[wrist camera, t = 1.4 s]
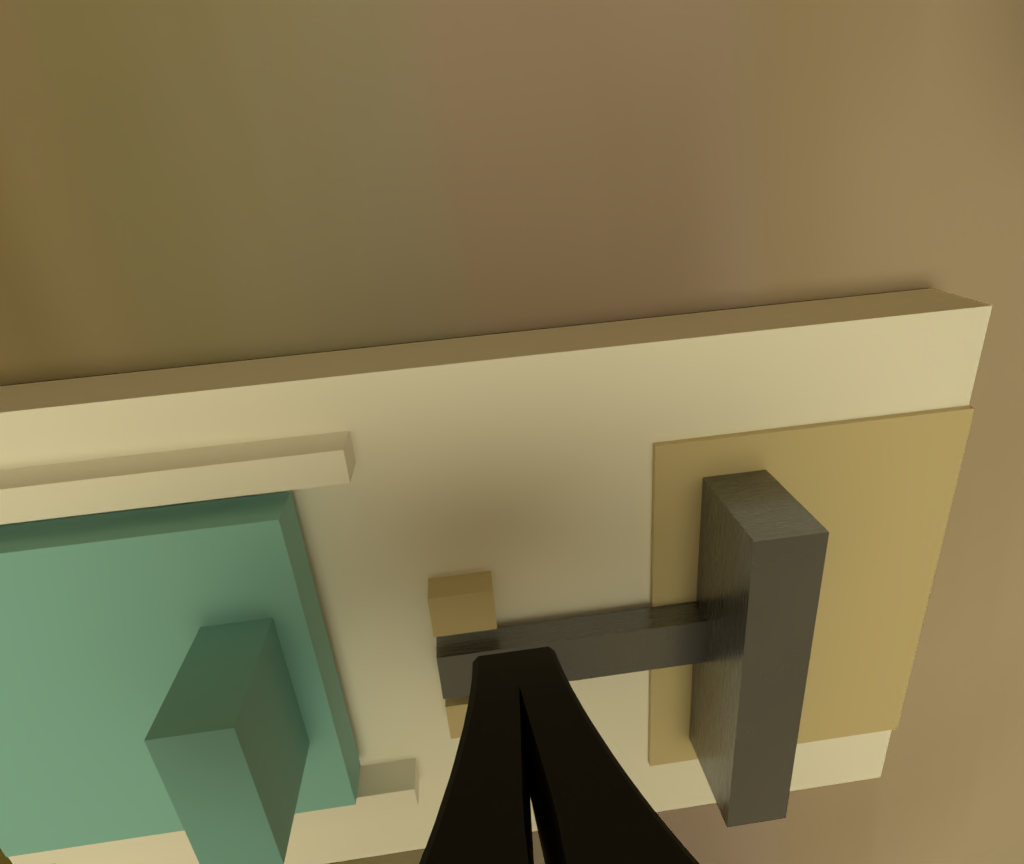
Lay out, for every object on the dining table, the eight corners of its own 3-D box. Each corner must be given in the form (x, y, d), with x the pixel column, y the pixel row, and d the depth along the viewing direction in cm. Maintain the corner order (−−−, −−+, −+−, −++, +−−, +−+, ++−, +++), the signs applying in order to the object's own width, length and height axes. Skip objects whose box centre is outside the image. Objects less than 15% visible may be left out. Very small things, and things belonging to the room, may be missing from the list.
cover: (360, 764, 18) (340, 928, 14) (33, 812, 18) (-79, 997, 14) (290, 491, 14) (237, 615, 11) (-129, 541, 14) (-343, 690, 10)
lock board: (845, 727, 23) (899, 804, 21) (108, 838, 22) (60, 938, 19) (931, 288, 17) (1028, 316, 14) (-125, 399, 15) (-250, 456, 12)
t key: (740, 730, 19) (785, 817, 17) (458, 772, 19) (462, 869, 16) (765, 469, 16) (829, 531, 13) (415, 512, 15) (411, 586, 13)
